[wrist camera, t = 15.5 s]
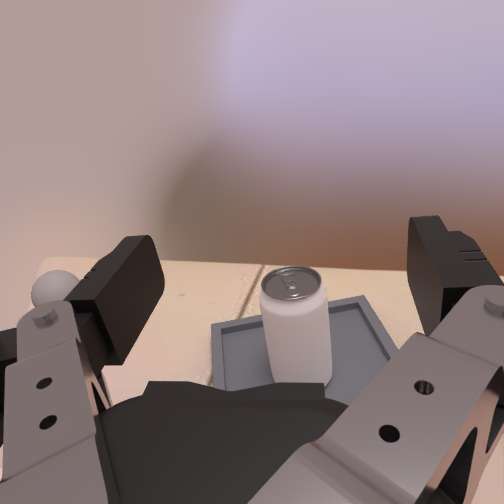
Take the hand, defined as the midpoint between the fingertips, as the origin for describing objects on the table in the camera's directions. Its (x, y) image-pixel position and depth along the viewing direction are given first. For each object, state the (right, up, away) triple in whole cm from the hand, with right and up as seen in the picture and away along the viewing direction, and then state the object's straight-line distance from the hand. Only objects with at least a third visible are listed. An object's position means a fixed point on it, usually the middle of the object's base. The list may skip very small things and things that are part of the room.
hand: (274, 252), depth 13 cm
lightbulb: (-25, -12, +44) cm, 52 cm away
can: (+5, -13, +31) cm, 34 cm away
